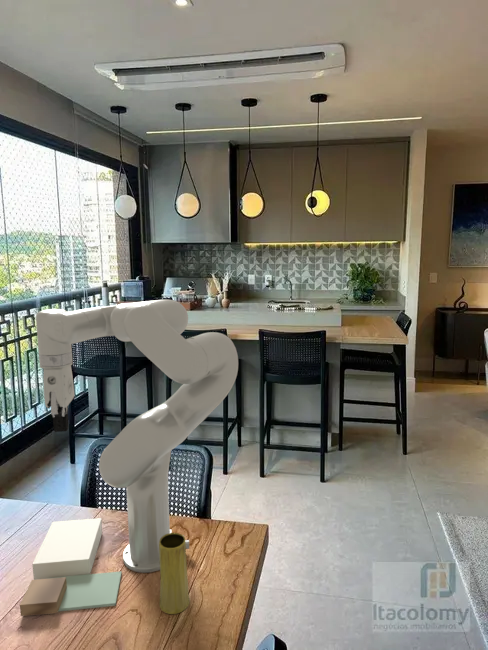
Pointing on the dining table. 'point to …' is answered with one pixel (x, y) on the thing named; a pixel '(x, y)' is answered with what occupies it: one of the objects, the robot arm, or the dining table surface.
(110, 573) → the mat
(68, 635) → the dining table surface
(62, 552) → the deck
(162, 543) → the vase
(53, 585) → the block
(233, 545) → the dining table surface
